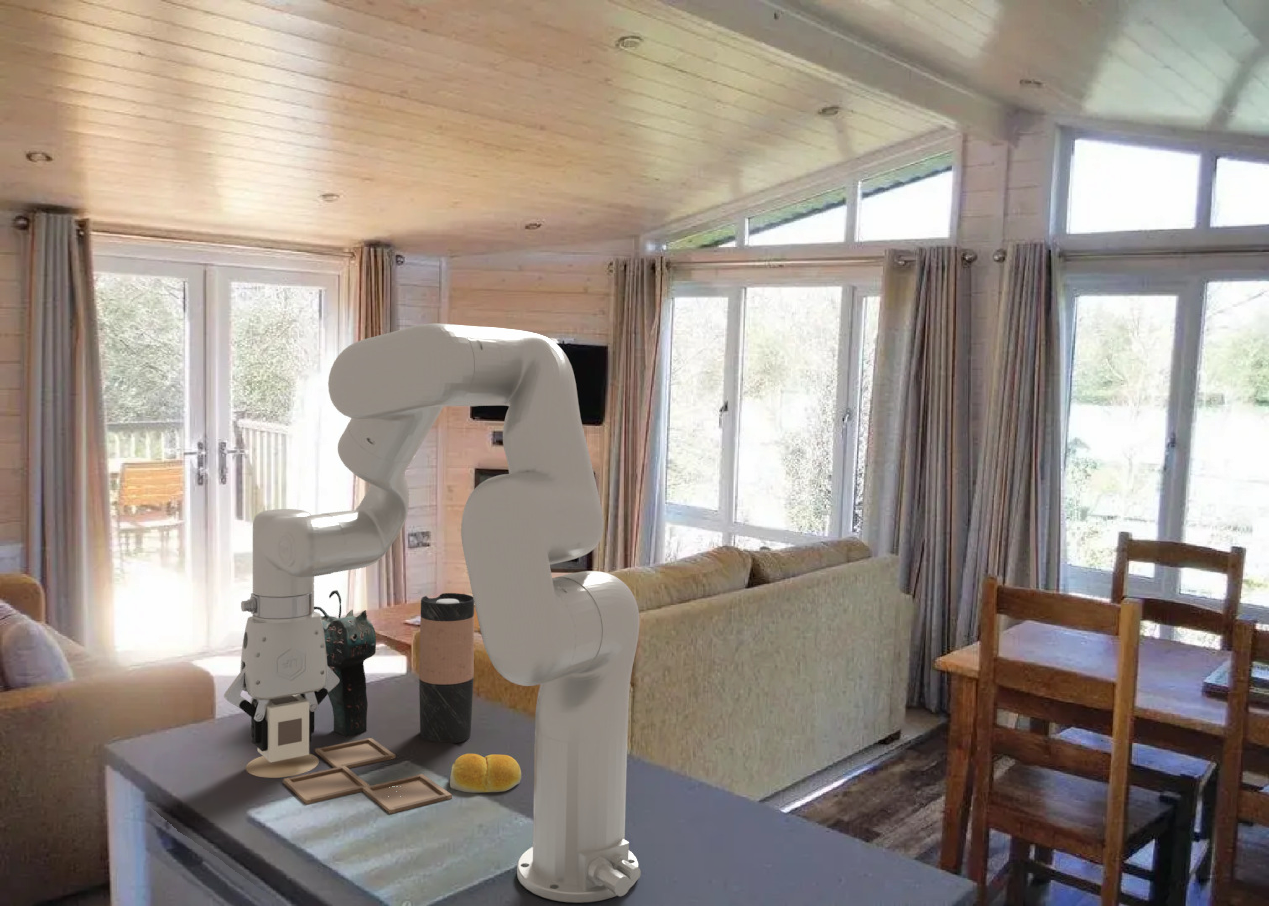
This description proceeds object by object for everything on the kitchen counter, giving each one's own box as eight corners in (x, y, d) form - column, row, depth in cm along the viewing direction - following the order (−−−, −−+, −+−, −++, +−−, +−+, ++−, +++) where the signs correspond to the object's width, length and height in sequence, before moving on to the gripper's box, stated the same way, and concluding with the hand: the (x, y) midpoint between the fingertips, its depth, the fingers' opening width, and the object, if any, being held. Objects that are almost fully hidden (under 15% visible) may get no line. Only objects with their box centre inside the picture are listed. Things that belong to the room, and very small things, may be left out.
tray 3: (451, 801, 124) (452, 794, 124) (390, 816, 119) (390, 810, 119) (422, 780, 131) (422, 773, 131) (362, 794, 126) (362, 787, 126)
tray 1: (395, 760, 137) (395, 755, 137) (337, 773, 132) (337, 767, 132) (370, 743, 143) (371, 737, 143) (314, 754, 138) (314, 748, 138)
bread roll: (523, 796, 127) (523, 764, 127) (449, 799, 125) (450, 767, 125) (518, 771, 135) (519, 741, 135) (449, 773, 134) (450, 743, 133)
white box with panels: (309, 754, 133) (309, 701, 133) (270, 762, 130) (270, 707, 129) (295, 743, 137) (295, 691, 137) (257, 750, 134) (257, 697, 133)
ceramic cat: (379, 735, 147) (381, 597, 145) (338, 745, 142) (339, 603, 141) (312, 702, 161) (313, 576, 159) (273, 710, 156) (273, 580, 155)
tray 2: (370, 792, 126) (370, 785, 126) (306, 807, 121) (306, 800, 121) (344, 771, 133) (345, 765, 133) (283, 785, 128) (283, 779, 128)
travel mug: (467, 746, 143) (469, 604, 142) (412, 744, 143) (414, 603, 142) (476, 728, 151) (479, 593, 149) (425, 726, 151) (426, 592, 150)
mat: (329, 770, 133) (329, 767, 133) (258, 785, 127) (258, 782, 127) (304, 750, 140) (304, 747, 140) (236, 763, 134) (236, 760, 134)
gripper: (223, 619, 124) (224, 766, 125) (358, 603, 134) (357, 739, 136) (206, 607, 130) (206, 748, 131) (336, 593, 140) (335, 723, 142)
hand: (283, 742), depth 133 cm, fingers closed on white box with panels, 4 cm apart
